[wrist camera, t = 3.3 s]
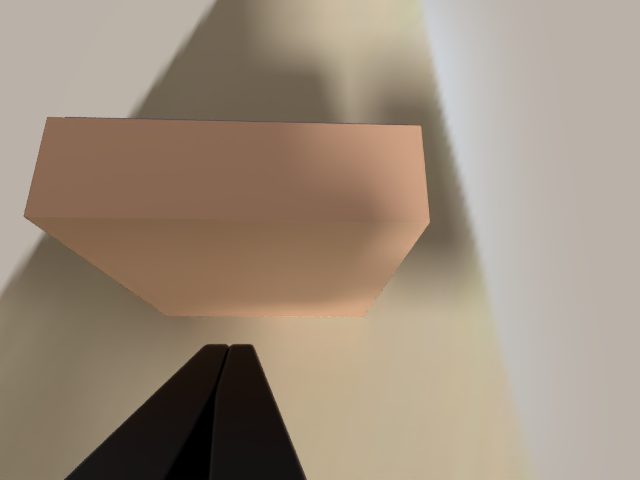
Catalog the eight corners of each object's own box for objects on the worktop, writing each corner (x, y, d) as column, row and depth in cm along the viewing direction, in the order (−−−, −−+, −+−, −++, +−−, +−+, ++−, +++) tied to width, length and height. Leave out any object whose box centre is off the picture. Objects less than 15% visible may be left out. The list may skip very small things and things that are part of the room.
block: (362, 317, 17) (429, 222, 8) (166, 315, 16) (23, 216, 8) (361, 260, 17) (420, 119, 9) (173, 258, 17) (49, 110, 9)
